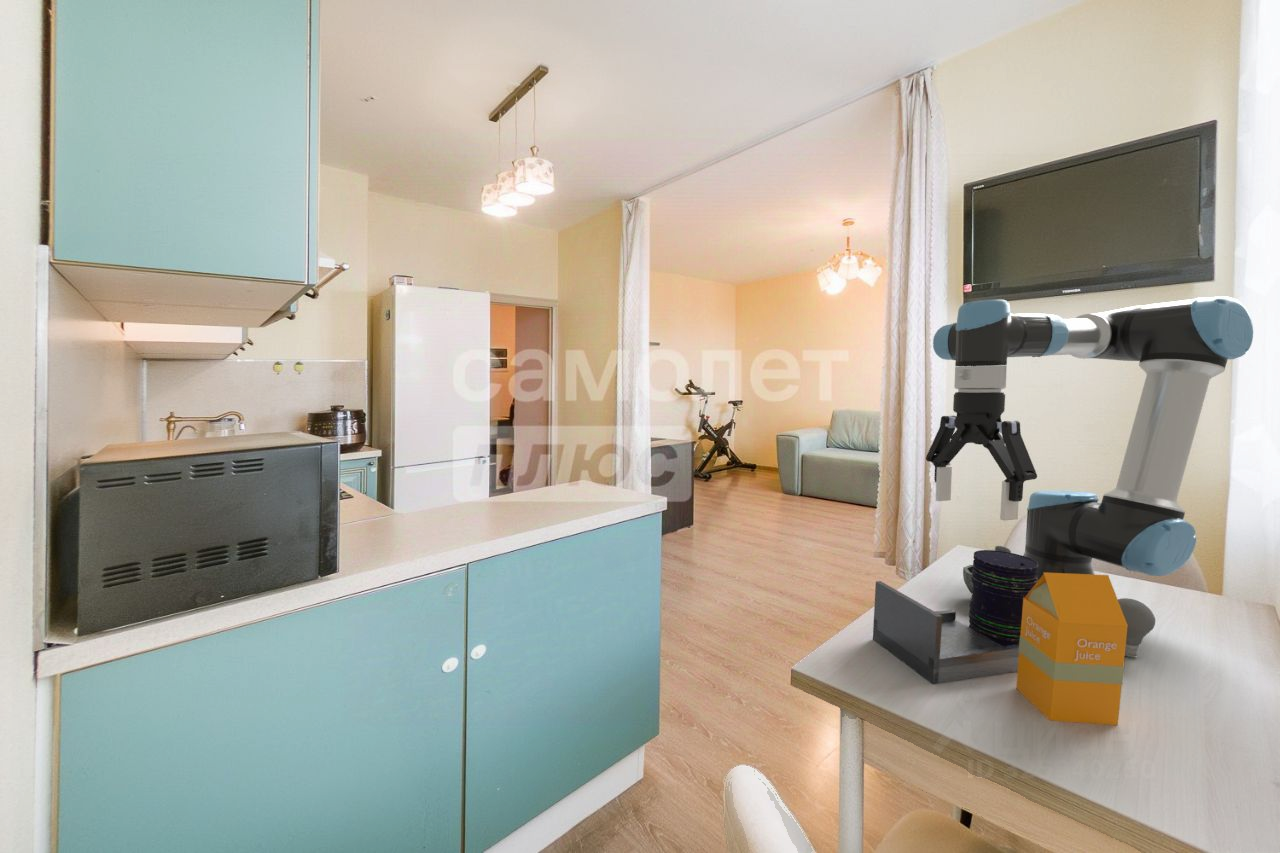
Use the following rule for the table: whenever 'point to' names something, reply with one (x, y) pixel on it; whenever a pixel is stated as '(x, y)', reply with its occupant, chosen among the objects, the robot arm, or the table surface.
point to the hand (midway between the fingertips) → (973, 509)
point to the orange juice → (1073, 648)
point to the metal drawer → (936, 640)
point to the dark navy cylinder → (1000, 594)
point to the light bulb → (1136, 623)
